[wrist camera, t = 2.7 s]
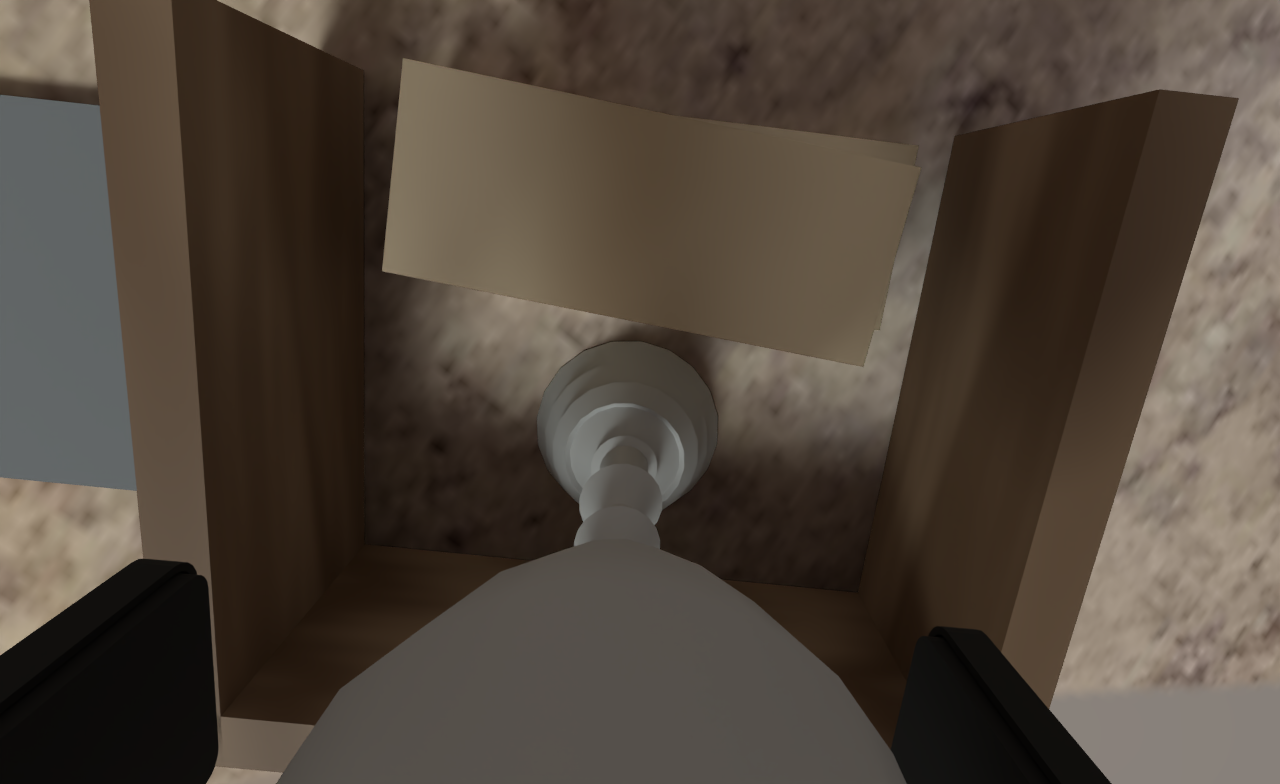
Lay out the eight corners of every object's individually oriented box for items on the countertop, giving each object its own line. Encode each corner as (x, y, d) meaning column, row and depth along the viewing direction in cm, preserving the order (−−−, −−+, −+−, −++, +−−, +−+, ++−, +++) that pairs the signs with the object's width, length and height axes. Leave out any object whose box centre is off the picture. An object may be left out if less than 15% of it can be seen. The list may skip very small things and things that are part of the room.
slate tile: (254, 124, 17) (240, 121, 16) (270, 494, 20) (258, 502, 19) (-154, 79, 17) (-183, 75, 16) (-83, 458, 19) (-106, 466, 19)
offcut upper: (867, 175, 15) (921, 167, 12) (823, 337, 16) (863, 366, 13) (452, 88, 14) (403, 57, 11) (432, 259, 15) (381, 271, 12)
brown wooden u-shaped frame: (1002, 141, 17) (1238, 98, 10) (889, 631, 21) (1008, 839, 14) (313, 65, 17) (85, -32, 10) (324, 576, 20) (163, 761, 14)
